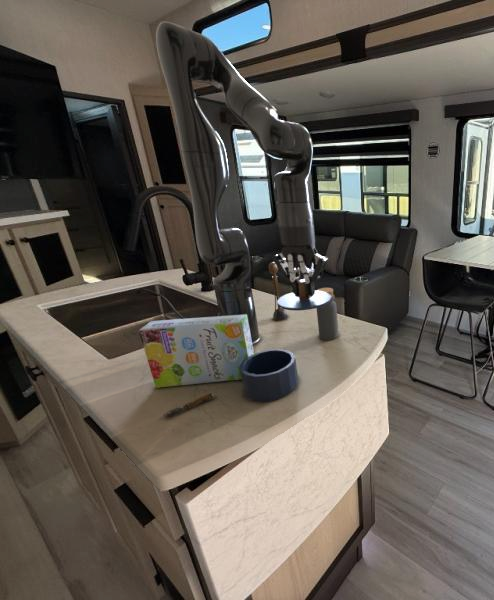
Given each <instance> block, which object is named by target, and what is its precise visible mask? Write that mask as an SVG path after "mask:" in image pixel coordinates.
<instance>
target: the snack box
mask: <svg viewBox="0 0 494 600" xmlns="http://www.w3.org/2000/svg"><path fill="white" fill-rule="evenodd" d="M138 334H139V337H140V340H141V343H142V347H143V350H144V353H145V356H146V360H147V364H148V366H149V369H150V373H151V376H152V379H153V383H154V386H155V388H156V389H158V388H168V387H177V386H188V385H199V384H209V383H218V382H229V381H239V380H242V377H241V372H240V365H241V363H242V362H243V360H245V359H246V358H248V357H249V356H251V355H253V354H255V351H254V345H252V340H251V334H250V328H249V323H248V317H247V314H245V315H231V316H217V315H216V316H205V317H203V316H202V317H191V318H186V319H182V318H176V319H161V320H151V321H149V322H147V323H146V324H145V325H144V326H142V327H141V328H140V329H138Z"/></svg>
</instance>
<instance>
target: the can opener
mask: <svg viewBox="0 0 494 600" xmlns="http://www.w3.org/2000/svg"><path fill="white" fill-rule="evenodd" d="M213 398H214V395H213V394H212V393H209V394H206V395H203V396H201V397H199V398H197V399H195V400H193V401H190V402H188V403H186V404H185V405H183V406H182V407H175V408H174V409H171V410H169V411H167V412H166V413H164V414H163V416H165V415H166V416H167V417H168V418H170V417H172V416H173V415H174V414H179V413H181V412H182V411H183V410H189V409H191V408H193V407H196V406H197V405H201V404H203V403H205V402H207V401H209V400H212V399H213Z"/></svg>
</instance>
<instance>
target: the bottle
mask: <svg viewBox="0 0 494 600" xmlns="http://www.w3.org/2000/svg"><path fill="white" fill-rule="evenodd" d="M316 291H323V292H327V293H329V294H330V295H331V301H330V302H329V303H328V304H326V305H324V306H322V307H319V308H316V316H317V317H316V319H317V328H318V337H319V339H321V340H323V341H331V340H335V339H337V338H338V337H339V322H338V321H339V320H338V308H337V302H336V301H334V300H335V297H336V296H335V294H334V289H333V288H332V287H321V288H318V289H317V290H316Z"/></svg>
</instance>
